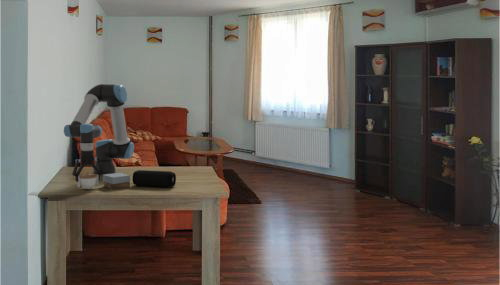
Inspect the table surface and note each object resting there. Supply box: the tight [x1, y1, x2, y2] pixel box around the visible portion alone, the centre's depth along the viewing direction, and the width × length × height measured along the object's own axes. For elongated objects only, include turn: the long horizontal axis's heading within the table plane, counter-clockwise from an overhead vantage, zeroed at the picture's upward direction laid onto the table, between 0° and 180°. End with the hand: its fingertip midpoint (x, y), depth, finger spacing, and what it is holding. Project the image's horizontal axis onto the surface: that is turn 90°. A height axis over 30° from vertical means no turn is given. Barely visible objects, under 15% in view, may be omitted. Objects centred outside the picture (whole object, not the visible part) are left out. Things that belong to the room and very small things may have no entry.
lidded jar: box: [79, 171, 97, 190], centre depth 348 cm, size 11×11×9 cm
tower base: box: [103, 181, 131, 190], centre depth 358 cm, size 12×12×4 cm
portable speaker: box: [131, 169, 177, 188], centre depth 360 cm, size 26×10×10 cm, turn 83°
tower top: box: [102, 172, 131, 184], centre depth 357 cm, size 12×12×4 cm
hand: (88, 186), depth 348 cm, fingers closed on lidded jar, 11 cm apart
